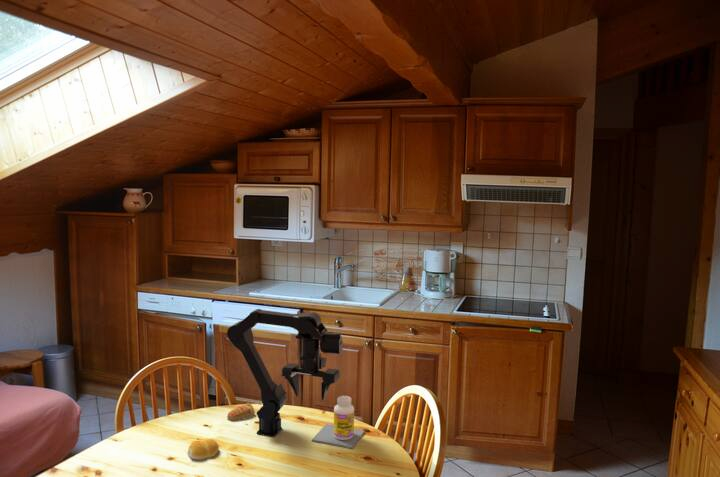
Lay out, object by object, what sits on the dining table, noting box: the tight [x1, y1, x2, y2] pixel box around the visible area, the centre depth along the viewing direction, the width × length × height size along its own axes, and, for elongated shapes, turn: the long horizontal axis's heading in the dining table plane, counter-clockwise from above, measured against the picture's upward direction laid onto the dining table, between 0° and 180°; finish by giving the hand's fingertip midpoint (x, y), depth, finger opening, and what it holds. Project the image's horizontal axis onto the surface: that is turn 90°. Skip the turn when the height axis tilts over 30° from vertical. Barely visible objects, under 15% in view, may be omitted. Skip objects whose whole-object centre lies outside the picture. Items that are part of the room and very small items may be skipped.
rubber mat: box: [311, 423, 366, 450], centre depth 171 cm, size 14×12×1 cm
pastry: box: [226, 402, 256, 421], centre depth 185 cm, size 9×7×4 cm
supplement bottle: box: [333, 395, 355, 440], centre depth 170 cm, size 7×7×13 cm
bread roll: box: [187, 438, 219, 461], centre depth 159 cm, size 8×9×4 cm
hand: (310, 398), depth 170 cm, fingers open, 9 cm apart
